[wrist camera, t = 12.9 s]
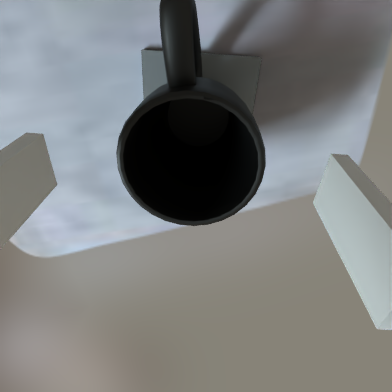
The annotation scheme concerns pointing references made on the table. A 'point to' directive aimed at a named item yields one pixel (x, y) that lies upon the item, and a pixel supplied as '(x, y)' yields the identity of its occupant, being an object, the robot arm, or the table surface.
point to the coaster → (208, 73)
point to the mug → (190, 136)
